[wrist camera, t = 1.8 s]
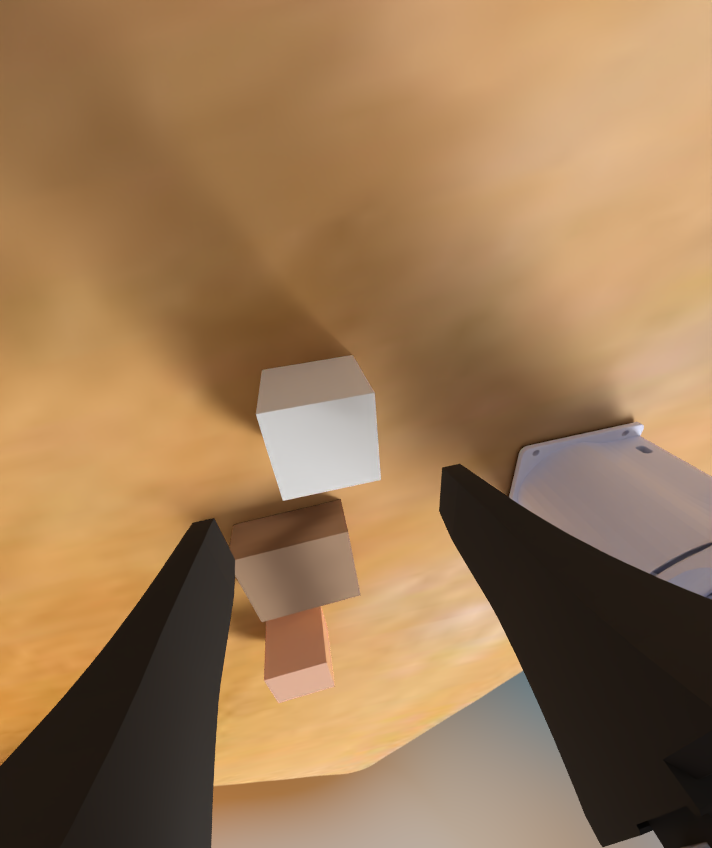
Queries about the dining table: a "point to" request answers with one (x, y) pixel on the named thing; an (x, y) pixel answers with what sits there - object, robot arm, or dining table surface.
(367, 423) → the grey block
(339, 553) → the walnut base
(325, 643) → the terracotta block
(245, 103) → the dining table surface
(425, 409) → the dining table surface
